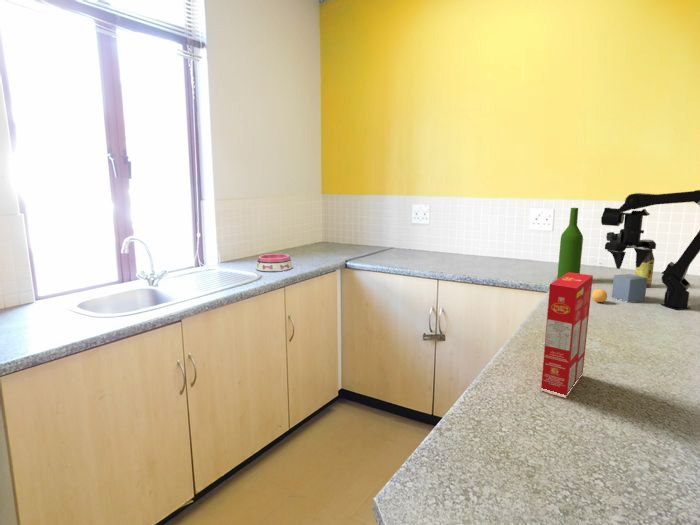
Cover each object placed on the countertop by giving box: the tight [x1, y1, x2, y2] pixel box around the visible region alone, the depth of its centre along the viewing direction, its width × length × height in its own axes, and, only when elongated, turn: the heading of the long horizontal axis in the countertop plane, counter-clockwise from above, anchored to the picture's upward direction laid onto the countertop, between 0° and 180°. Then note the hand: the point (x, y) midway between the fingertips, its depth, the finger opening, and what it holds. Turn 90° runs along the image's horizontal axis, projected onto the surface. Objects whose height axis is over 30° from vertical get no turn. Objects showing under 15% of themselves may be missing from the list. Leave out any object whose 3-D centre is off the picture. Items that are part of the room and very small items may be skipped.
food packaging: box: [540, 272, 593, 395], centre depth 105 cm, size 15×5×25 cm, turn 141°
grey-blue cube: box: [611, 273, 647, 303], centre depth 175 cm, size 8×8×9 cm
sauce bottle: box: [634, 238, 655, 288], centre depth 193 cm, size 7×6×20 cm
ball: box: [591, 288, 608, 303], centre depth 171 cm, size 5×5×5 cm
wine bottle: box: [556, 207, 584, 280], centre depth 202 cm, size 9×9×32 cm
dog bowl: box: [255, 253, 293, 273], centre depth 234 cm, size 18×19×7 cm
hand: (627, 267), depth 174 cm, fingers open, 9 cm apart
